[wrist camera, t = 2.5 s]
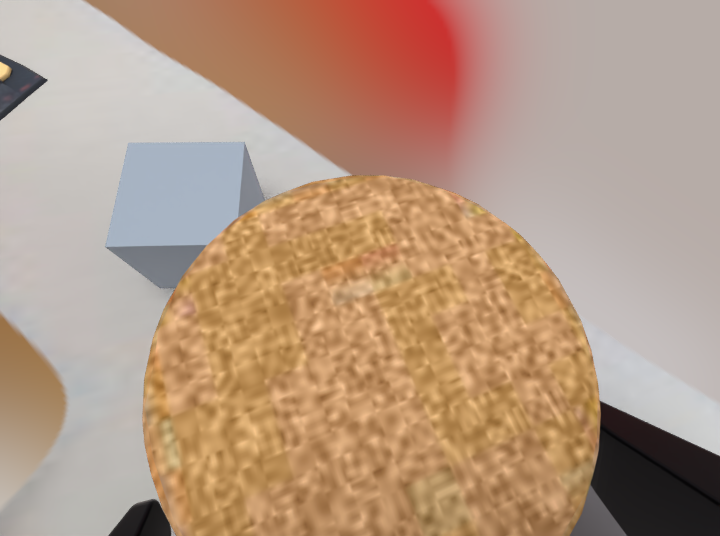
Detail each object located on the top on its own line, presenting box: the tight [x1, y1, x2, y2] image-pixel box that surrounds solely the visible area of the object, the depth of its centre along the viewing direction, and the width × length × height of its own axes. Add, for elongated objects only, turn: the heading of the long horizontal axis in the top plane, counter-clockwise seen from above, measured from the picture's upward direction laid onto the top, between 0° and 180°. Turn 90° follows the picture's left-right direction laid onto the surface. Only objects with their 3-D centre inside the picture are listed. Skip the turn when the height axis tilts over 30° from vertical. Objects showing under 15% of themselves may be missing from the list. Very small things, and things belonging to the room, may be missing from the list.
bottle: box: [142, 175, 601, 536], centre depth 11 cm, size 6×6×15 cm
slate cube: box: [105, 142, 265, 288], centre depth 19 cm, size 5×5×5 cm
